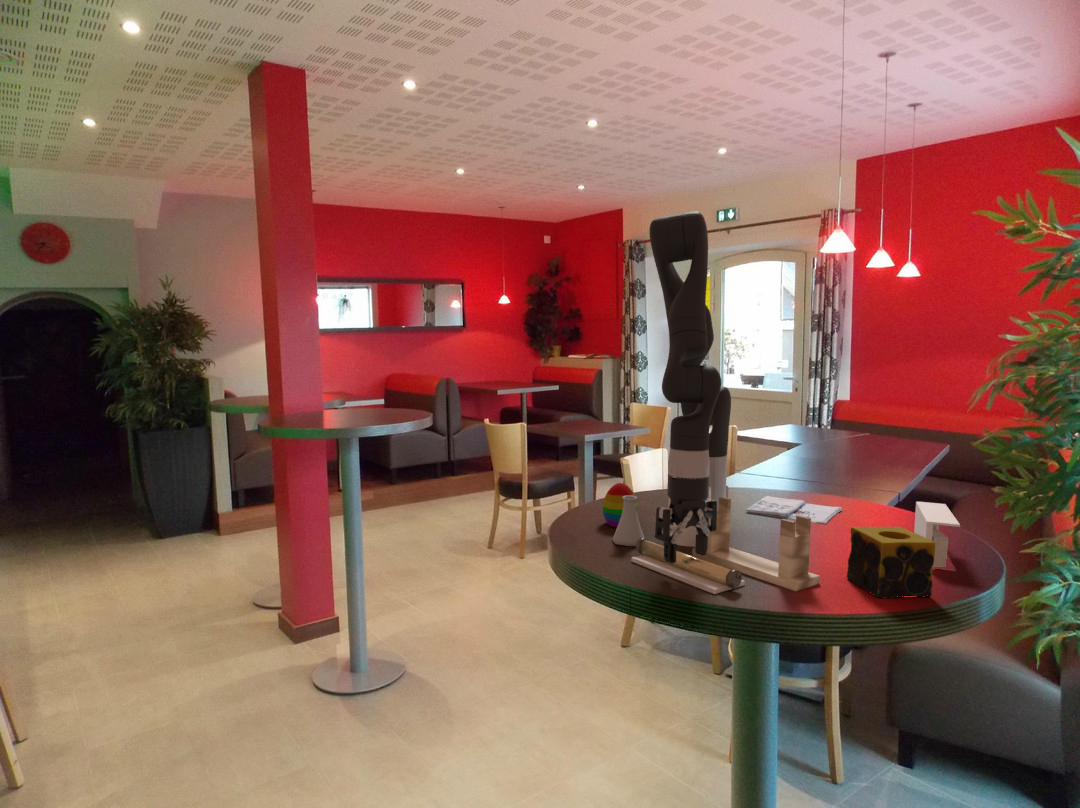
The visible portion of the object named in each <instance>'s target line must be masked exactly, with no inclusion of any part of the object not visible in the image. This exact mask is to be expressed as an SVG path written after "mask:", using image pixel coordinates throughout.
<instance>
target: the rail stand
mask: <svg viewBox="0 0 1080 808" xmlns="http://www.w3.org/2000/svg"><path fill="white" fill-rule="evenodd" d="M731 507H732V499H731V498H730V497H728V498H726V497H719V504H718V511H717V528H716V531H712V532H710V535H709V536H708V549H707V553H706V555H703V556H702V555H699V554H697V553H696V552H695V547H692V550H691V551H692V553H691V556H693V557H696V558H699V559H702V560H705V561H708V562H711V563H713V564H716V565H719V566H722V567H725V568H728V569H731V570H733V569H734V570H737V571H739V572H740V573H741V574H744V575H747V576H750V577H752V578H756V579H758V580H761V581H764V582H768V583H770V584H774V585H776V586H779V587H781V588H785V589H787V590H791V591H793V592H799V591H801V590H804V589H807V588H811V587H813V586H817V585H820V577H821V576H820V575H819V574H815V573H812V572H809V570H810V550H811V549H810V548H811V547H810V546H811V527H812V526H811V523H812V522H811V518H808V517H804V516H800V515H799V516H796V520H792V519H790V520H789V519H786V518H781V519H780V526H779V527H780V529H779V544H778V545H779V549H778V551H779V552H778V561H774V560H771V559H767V558H765V557H762V556H759V555H755V554H752V553H748V552H745V551H742V550H739V549H736V548H733V547H731V546H730V543H731V542H730V541H731V539H730V537H731V514H732V510H731V509H732V508H731ZM709 524H711V519H710V518H709Z"/></svg>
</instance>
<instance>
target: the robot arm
mask: <svg viewBox="0 0 1080 808" xmlns="http://www.w3.org/2000/svg"><path fill="white" fill-rule="evenodd" d="M648 233H649V241H650V246H651V247H650V248H651V251H652V256H653V259H654V263H655V267H656V272H657V275H658V279H659V283H660V286H661V291H662V295H663V302H664V308H665V314H666V321H667V329H668V340H669V342H668V343H669V346H668V347H669V349H668V356H667V362H666V366H665V370H664V374H663V377H662V383H661V391H662V394H663V396H664V398H665V400H667V401H668V402H669V403H671V404H680V409H681V413H682V415H679V416H676V417H674V418H673V419H672V420H671V423H670V436H669V438H670V439H669V453H668V458H667V459H668V460H667V491H666V492H667V496H668V499H669V498H670V505H669V504H668V506H669V507H661V506H658V507H657V508H656V510H655V511H656V514H655V533H654V534H655V535H654V538H655V539H656V540H659V541H662V542H663V546H664V559H665V561H666V562H669V563H675V562H676V551H677V546H678V545H677V544H676V543H675V542H676V540H677V538H678V536H679V534H681V533H683V531H684V529H685V528H688V527H690V526H693V527H694V528H695V530H696V532H697V533H698V534H696V544H695V547H694V548H695V552H696V553H697V554H699V555H702V556H703V555H706V553H707V549H708V536H709V535H710V532H712V531H716V528H717V511H718V504H719V497H726V498H729V486H728V485H727V471H728V469H727V468H728V467H727V465H728V463H727V462H728V444H729V433H730V431H729V430H730V420H731V419H730V418H731V409H732V397H731V393H730V389H729V388H728V387H726V386H722V378H721V373H720V372H719V370H718V369H717V368H716V367H715V366H713V365H707V364H706V365H705V364H704V365H702V363H703V361H704V360H705V358H706V357H707V355H708V354H709V352H710V350H711V348H712V346H713V342H714V339H715V334H714V329H713V328H714V327H713V321H712V315H711V311H710V309H709V307H708V306H707V304H706V300H707V297H706V296H707V287H708V285H707V284H708V282H707V281H708V265H709V263H708V262H709V235H708V234H709V233H708V227H707V223H706V219H705V217H704V215H703V214H702V213H701V212H700V211H697V210H696V211H688V212H683V213H677V214H671V215H666V216H661V217H657V218H655V219H653V220H652V221H651V222H650V225H649V231H648ZM686 261H691V263H690V266H689V271H688V274H687V275H686V278H685V280H684V281H683V279H682V278H681V276H680V275H679V273H678V272H677V269H676V266H675V265H674V263H678V262H686ZM710 426H711V427H710ZM710 428H711V429H710ZM709 487H711V500H710V499H707V498H708V495H709ZM709 518H710V519H711V524H709ZM674 523H675V524H676V525H677V526H673V524H674ZM672 531H674V532H673V534H672V536H670V534H671V532H672Z"/></svg>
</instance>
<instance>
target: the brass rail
mask: <svg viewBox="0 0 1080 808" xmlns="http://www.w3.org/2000/svg"><path fill="white" fill-rule="evenodd" d="M644 538H645V537H644ZM644 538H640V539H639V540H638V541H637V543H636V546H634V547H635V551H636V553H637V554H638V555H639V554H640V555H647V556H650V557H652V558H655V559H658V560H661V561H663V562H666V561H665V559H664V545H661V544H658V543H656V542H653V541H650V540H648V538H645V539H644ZM666 563H669V562H666ZM669 564H671V565H674V566H677V567H679V568H682V569H685V570H687V571H690V572H693V573H695V574H698V575H701V576H704V577H706V578H709V579H712V580H714V581H717V582H720V583H722V584H725V585H727V586H728V587H730V588H732V589H731V590H736V589H738V588H739V585H740V583H741V580H743V579H742V578H743V577H742V573H741V572H739V571H737V570H734V569H733V570H732V569H730V568H727V567H724V566H721V565H718V564H715V563H712V562H709V561H706V560H704V559H701V558H698V557H695V556H692V555H690V554H687V553H684V552H681V551H679V550H676V562H675V563H669Z"/></svg>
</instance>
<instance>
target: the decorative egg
mask: <svg viewBox="0 0 1080 808" xmlns="http://www.w3.org/2000/svg"><path fill="white" fill-rule="evenodd" d="M623 496H636V495H635V494H634V491H633V490H632V488H630V487H629V486H628V485H627V484H626V483H623V482H618V483H615V484H613V485H612V486H611V487H609V489H608V491H607V492H606V494H605V496H604V499H603V502H602V515H603V518H604V520H605V522H606V523H607V525H609V526H610V527H613V528H617V527H618V524H619V521H620V518H621V516H622V512H623V507H624V500H623V498H622V497H623ZM637 502H638V501H637V500H636V510H637V511H638V503H637Z"/></svg>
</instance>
